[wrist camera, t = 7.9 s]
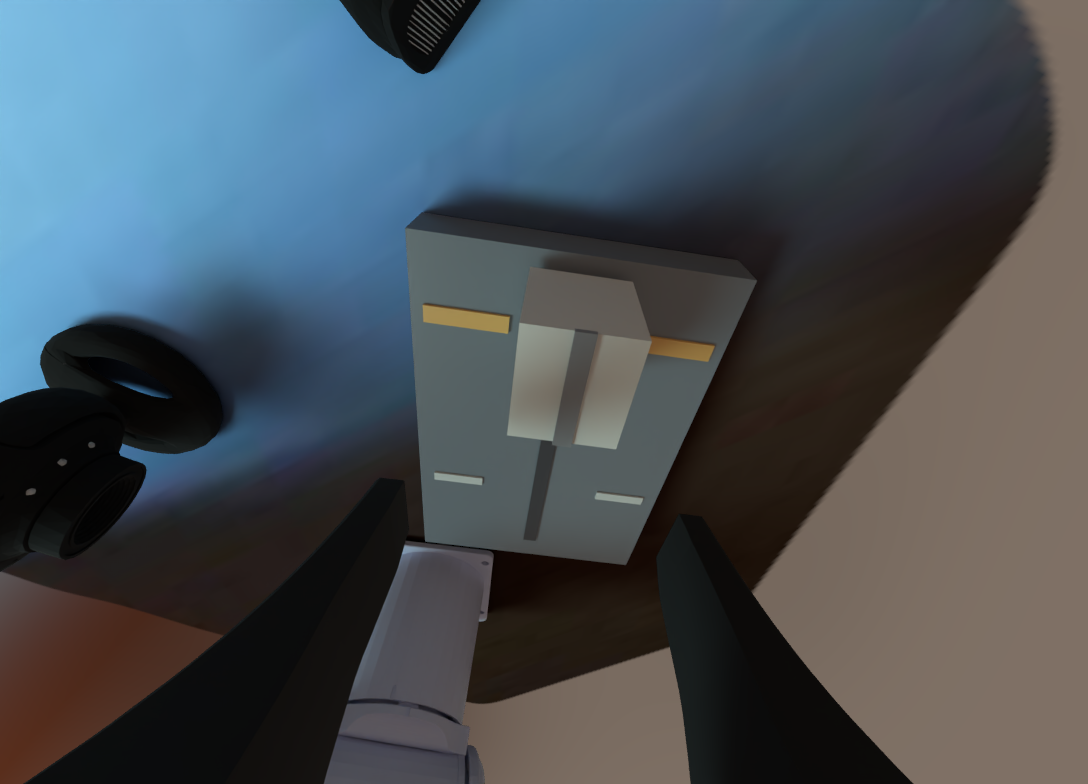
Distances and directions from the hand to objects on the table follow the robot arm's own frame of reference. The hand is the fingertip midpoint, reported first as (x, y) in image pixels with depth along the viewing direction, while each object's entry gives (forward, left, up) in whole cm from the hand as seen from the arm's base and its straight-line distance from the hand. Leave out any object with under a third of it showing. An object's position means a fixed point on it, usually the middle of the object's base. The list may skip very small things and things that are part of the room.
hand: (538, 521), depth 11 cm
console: (-4, -1, -9) cm, 10 cm away
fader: (+2, -1, -7) cm, 7 cm away
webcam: (-6, +20, -10) cm, 23 cm away
